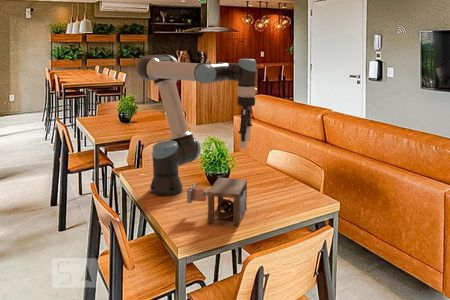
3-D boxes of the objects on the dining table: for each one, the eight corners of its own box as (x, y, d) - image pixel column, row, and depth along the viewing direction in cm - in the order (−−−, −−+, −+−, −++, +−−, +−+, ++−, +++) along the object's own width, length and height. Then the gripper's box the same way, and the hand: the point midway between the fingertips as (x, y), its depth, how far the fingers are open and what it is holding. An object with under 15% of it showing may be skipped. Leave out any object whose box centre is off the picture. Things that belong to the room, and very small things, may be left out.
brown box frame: (186, 216, 168) (185, 192, 166) (194, 205, 180) (194, 183, 177) (240, 221, 164) (240, 197, 161) (245, 209, 175) (245, 186, 173)
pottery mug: (246, 219, 169) (240, 206, 164) (226, 232, 168) (219, 218, 163) (234, 202, 178) (227, 189, 173) (214, 214, 177) (207, 201, 172)
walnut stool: (208, 224, 164) (207, 192, 160) (218, 206, 181) (218, 177, 177) (238, 226, 161) (238, 194, 158) (246, 209, 178) (246, 179, 175)
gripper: (252, 100, 166) (250, 152, 172) (258, 92, 190) (256, 138, 196) (233, 99, 167) (232, 151, 173) (241, 92, 191) (240, 137, 197)
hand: (245, 144), depth 184 cm, fingers open, 13 cm apart
